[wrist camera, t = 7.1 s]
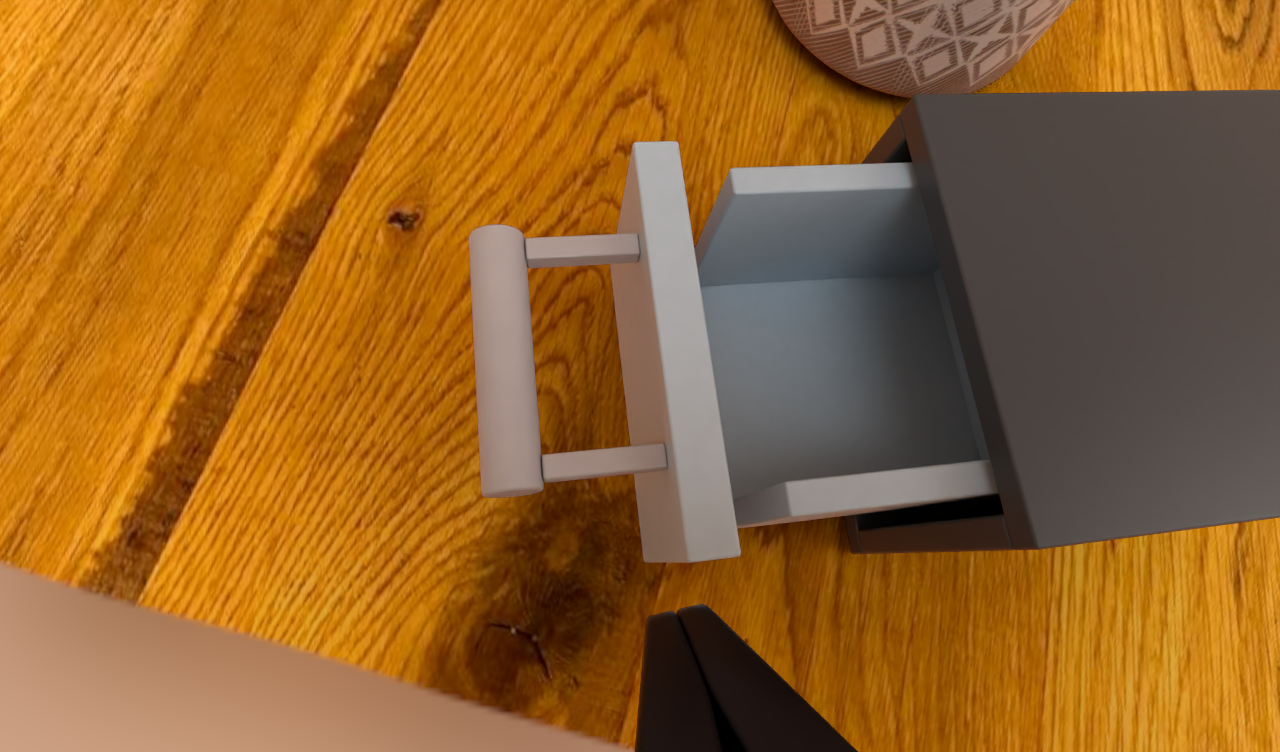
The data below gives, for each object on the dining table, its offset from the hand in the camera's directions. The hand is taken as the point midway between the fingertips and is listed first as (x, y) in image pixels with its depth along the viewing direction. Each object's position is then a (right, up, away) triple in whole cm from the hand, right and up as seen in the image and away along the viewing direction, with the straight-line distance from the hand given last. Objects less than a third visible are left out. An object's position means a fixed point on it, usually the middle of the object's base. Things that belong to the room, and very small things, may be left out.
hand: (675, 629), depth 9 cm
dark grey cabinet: (+13, +3, +16) cm, 21 cm away
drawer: (+3, +3, +14) cm, 14 cm away
